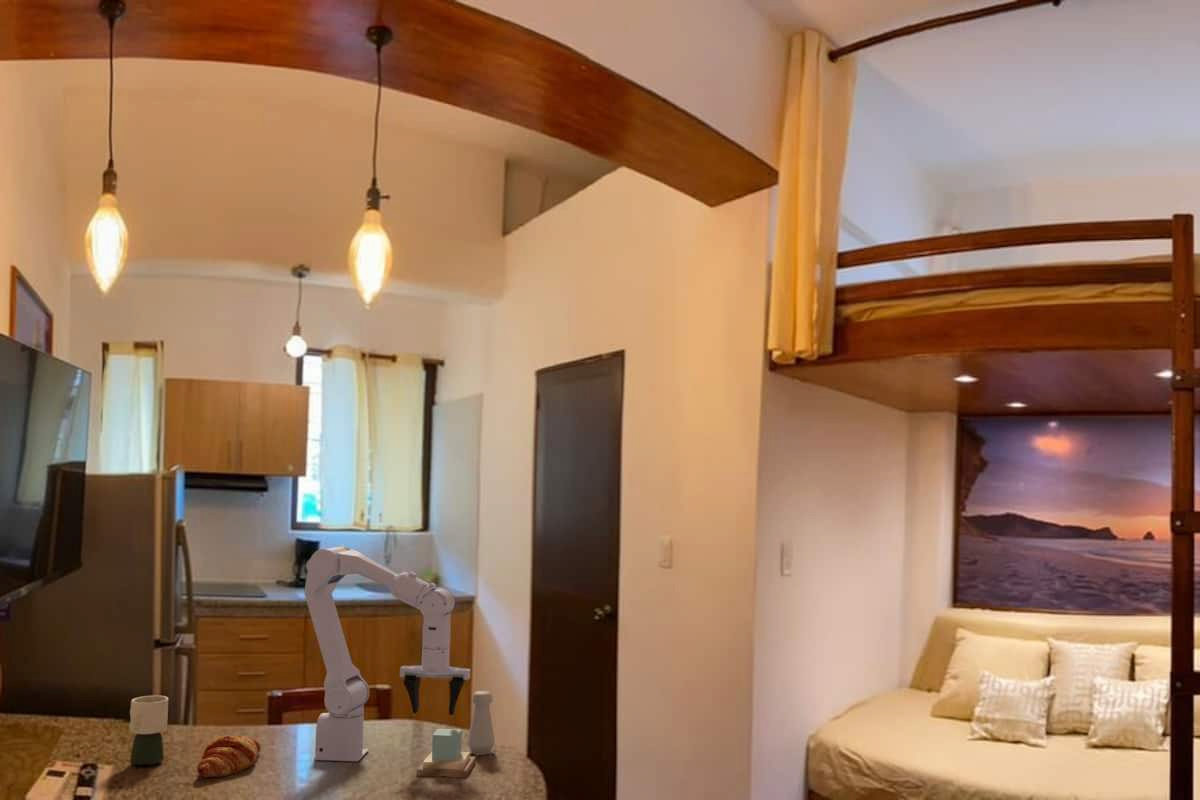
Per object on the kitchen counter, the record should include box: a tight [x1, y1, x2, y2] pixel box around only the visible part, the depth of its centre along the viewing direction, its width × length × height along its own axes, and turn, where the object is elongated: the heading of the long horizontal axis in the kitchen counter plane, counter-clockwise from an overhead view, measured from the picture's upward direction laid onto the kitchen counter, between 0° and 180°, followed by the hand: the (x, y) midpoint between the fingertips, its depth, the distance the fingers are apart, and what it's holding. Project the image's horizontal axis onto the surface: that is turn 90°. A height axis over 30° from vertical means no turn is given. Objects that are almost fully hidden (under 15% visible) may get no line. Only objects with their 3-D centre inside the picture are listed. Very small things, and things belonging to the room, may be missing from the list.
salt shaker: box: [467, 690, 496, 756], centre depth 216 cm, size 6×6×13 cm
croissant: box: [196, 735, 263, 778], centre depth 203 cm, size 21×10×8 cm, turn 170°
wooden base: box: [416, 750, 476, 778], centre depth 204 cm, size 10×10×2 cm
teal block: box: [431, 728, 463, 761], centre depth 204 cm, size 5×5×5 cm
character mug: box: [128, 695, 169, 767], centre depth 204 cm, size 11×7×13 cm, turn 169°
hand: (433, 712), depth 209 cm, fingers open, 7 cm apart
